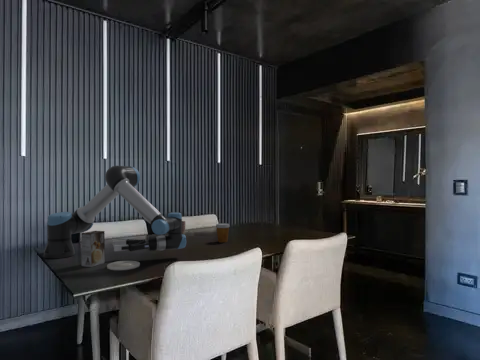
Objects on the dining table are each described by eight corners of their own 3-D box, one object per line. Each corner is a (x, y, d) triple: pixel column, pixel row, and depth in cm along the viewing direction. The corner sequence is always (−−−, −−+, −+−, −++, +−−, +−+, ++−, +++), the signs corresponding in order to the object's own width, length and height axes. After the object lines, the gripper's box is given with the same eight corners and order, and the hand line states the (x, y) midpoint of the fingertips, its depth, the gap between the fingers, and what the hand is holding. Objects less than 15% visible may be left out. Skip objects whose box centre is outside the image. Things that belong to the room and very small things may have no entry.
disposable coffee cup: (231, 240, 238) (231, 223, 238) (227, 243, 229) (227, 225, 229) (218, 240, 241) (218, 222, 241) (213, 242, 232) (213, 224, 232)
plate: (104, 271, 158) (104, 268, 158) (109, 263, 172) (109, 261, 172) (138, 269, 161) (138, 266, 161) (140, 262, 176) (140, 259, 176)
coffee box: (95, 261, 176) (95, 230, 176) (105, 263, 173) (105, 231, 174) (80, 266, 167) (81, 232, 167) (91, 267, 165) (91, 233, 165)
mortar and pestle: (174, 242, 231) (174, 212, 231) (166, 241, 237) (166, 211, 237) (187, 240, 239) (187, 211, 240) (180, 239, 245) (180, 210, 245)
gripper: (160, 255, 170) (114, 258, 162) (152, 246, 193) (112, 248, 185) (160, 239, 170) (114, 242, 162) (152, 232, 193) (112, 234, 185)
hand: (113, 246), depth 174 cm, fingers open, 13 cm apart
